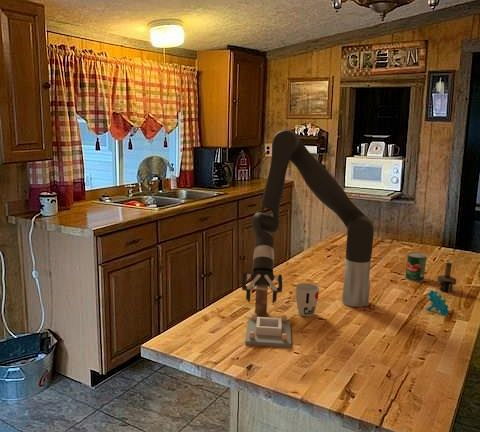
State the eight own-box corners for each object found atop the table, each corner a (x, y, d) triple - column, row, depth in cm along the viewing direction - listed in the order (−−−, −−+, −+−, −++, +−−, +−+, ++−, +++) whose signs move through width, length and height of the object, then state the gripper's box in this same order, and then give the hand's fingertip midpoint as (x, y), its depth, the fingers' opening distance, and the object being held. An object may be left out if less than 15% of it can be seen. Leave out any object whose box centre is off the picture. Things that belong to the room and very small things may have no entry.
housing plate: (289, 323, 169) (290, 312, 168) (291, 347, 151) (291, 336, 151) (248, 320, 170) (248, 310, 169) (245, 344, 152) (245, 333, 152)
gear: (442, 315, 175) (426, 290, 179) (429, 323, 179) (414, 298, 183) (455, 312, 183) (440, 288, 187) (442, 319, 186) (428, 295, 190)
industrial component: (454, 295, 200) (458, 266, 198) (435, 292, 203) (439, 264, 201) (455, 287, 209) (458, 260, 206) (436, 285, 212) (439, 258, 209)
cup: (303, 319, 172) (304, 292, 170) (290, 311, 179) (291, 284, 177) (322, 315, 176) (323, 289, 174) (308, 307, 183) (310, 281, 181)
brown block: (266, 312, 177) (267, 285, 175) (266, 316, 173) (267, 289, 171) (255, 311, 178) (256, 285, 176) (254, 316, 174) (256, 289, 172)
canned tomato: (404, 280, 217) (406, 255, 215) (405, 274, 224) (408, 251, 222) (423, 282, 214) (426, 258, 212) (424, 277, 221) (427, 253, 219)
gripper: (243, 254, 179) (240, 296, 171) (283, 256, 178) (282, 298, 170) (244, 264, 186) (241, 304, 177) (282, 266, 185) (281, 307, 176)
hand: (261, 301), depth 173 cm, fingers open, 8 cm apart
